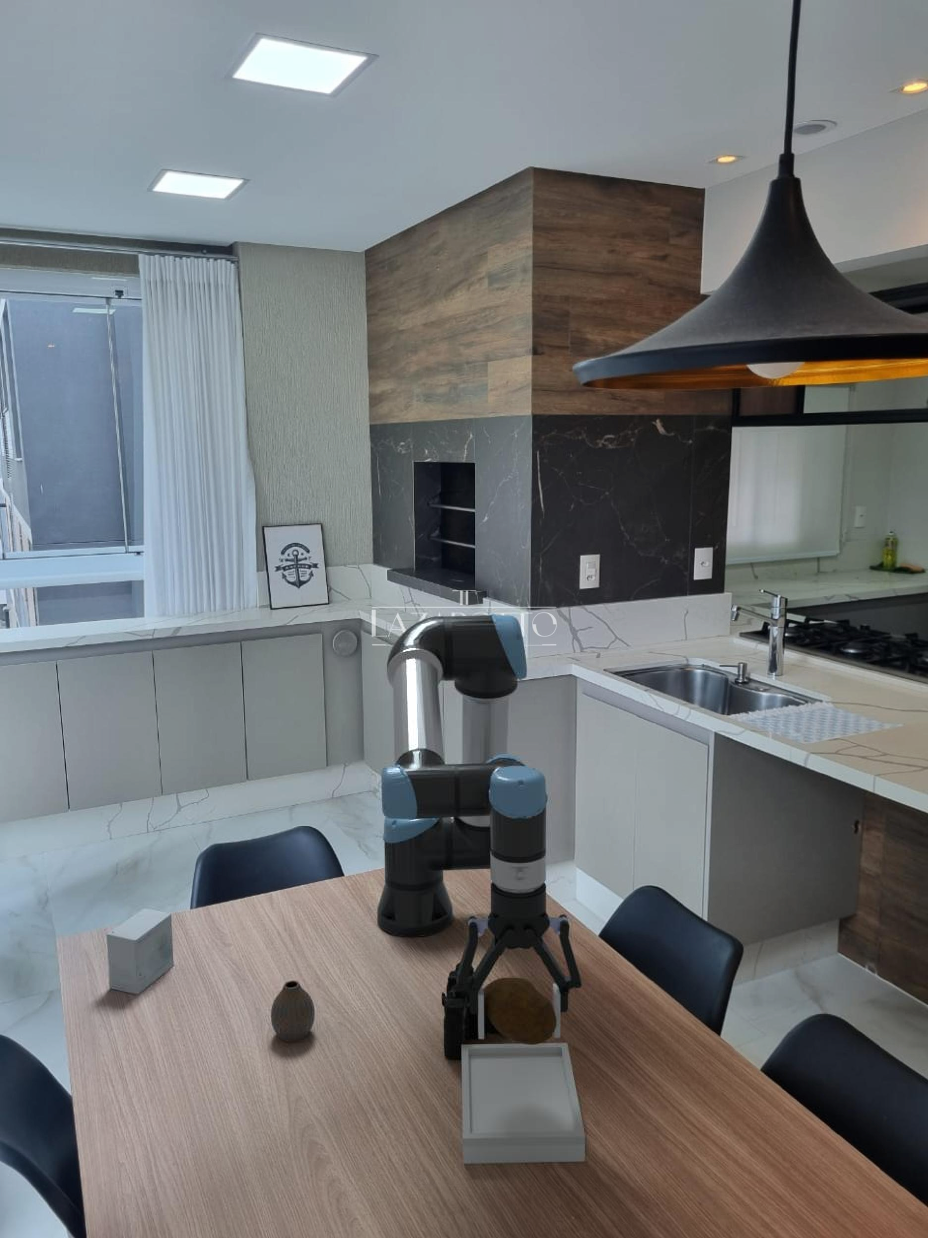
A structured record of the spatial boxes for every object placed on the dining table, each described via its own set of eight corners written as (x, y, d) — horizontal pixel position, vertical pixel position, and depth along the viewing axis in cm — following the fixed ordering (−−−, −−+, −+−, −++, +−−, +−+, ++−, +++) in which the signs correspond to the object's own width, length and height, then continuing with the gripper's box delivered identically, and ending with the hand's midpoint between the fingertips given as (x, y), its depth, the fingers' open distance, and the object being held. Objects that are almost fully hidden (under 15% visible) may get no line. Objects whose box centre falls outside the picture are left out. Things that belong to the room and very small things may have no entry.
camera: (505, 1067, 144) (505, 1006, 142) (436, 1060, 146) (435, 1000, 144) (516, 1014, 157) (516, 959, 156) (453, 1009, 159) (452, 953, 158)
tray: (461, 1067, 144) (461, 1044, 143) (566, 1065, 144) (567, 1043, 143) (463, 1164, 124) (462, 1138, 124) (584, 1161, 124) (585, 1136, 124)
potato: (538, 1065, 125) (538, 1011, 124) (464, 1031, 133) (463, 981, 131) (570, 1035, 132) (570, 984, 130) (498, 1005, 139) (497, 956, 138)
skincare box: (139, 996, 164) (135, 939, 162) (108, 989, 166) (104, 934, 164) (176, 965, 174) (172, 912, 172) (146, 959, 176) (142, 907, 174)
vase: (263, 1035, 152) (260, 985, 151) (297, 1017, 157) (295, 968, 156) (289, 1053, 148) (287, 1001, 146) (324, 1033, 153) (322, 983, 151)
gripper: (435, 895, 124) (437, 1050, 128) (605, 893, 125) (603, 1047, 128) (436, 871, 132) (438, 1018, 135) (596, 869, 132) (595, 1015, 136)
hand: (518, 1032), depth 132 cm, fingers closed on potato, 10 cm apart
